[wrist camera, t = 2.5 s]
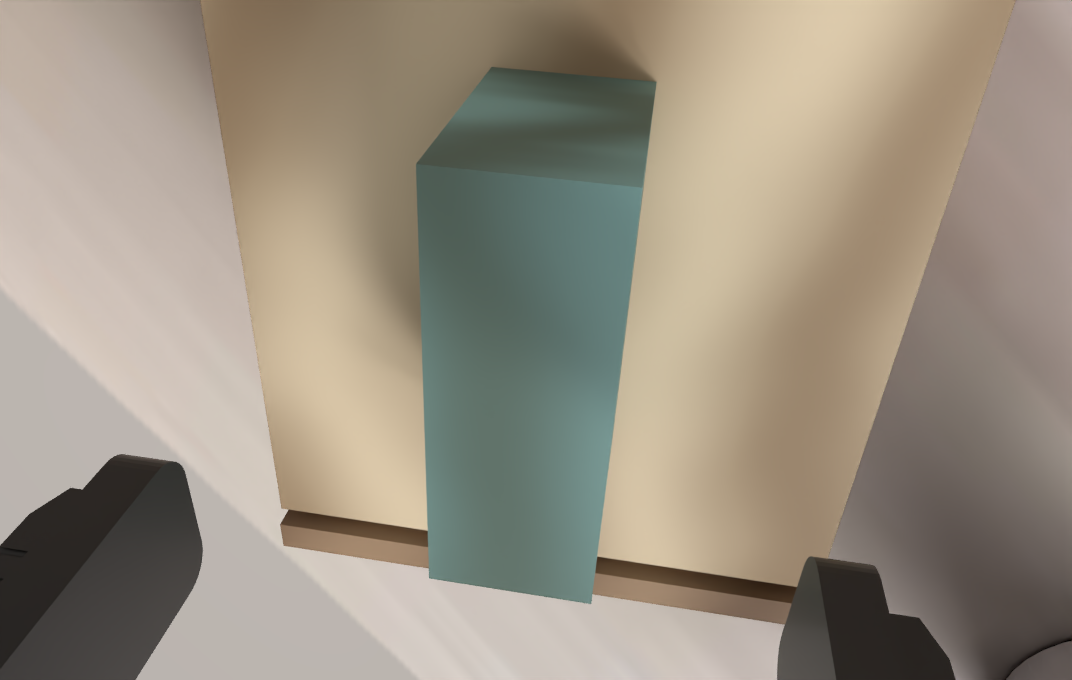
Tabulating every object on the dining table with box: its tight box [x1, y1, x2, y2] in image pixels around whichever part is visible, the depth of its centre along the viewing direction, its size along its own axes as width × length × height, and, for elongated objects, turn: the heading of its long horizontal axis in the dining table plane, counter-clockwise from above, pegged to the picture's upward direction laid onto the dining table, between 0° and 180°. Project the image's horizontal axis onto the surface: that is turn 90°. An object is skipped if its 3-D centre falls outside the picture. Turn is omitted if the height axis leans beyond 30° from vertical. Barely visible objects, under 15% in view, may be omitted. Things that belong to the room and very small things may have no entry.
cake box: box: [280, 510, 797, 624], centre depth 23 cm, size 14×19×15 cm
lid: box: [200, 0, 1016, 604], centre depth 16 cm, size 14×16×6 cm
